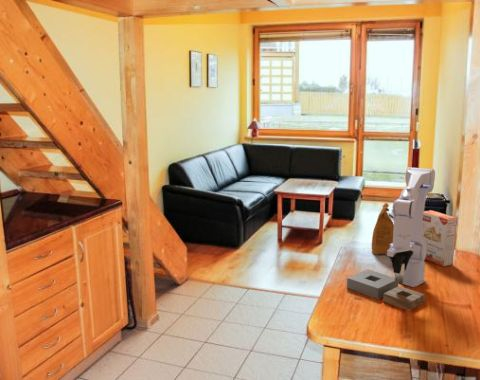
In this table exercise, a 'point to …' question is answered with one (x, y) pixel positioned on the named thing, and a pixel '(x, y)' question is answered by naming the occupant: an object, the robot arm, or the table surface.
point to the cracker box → (439, 237)
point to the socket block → (404, 298)
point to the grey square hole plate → (371, 283)
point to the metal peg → (400, 275)
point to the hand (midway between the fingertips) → (399, 271)
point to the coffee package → (382, 232)
